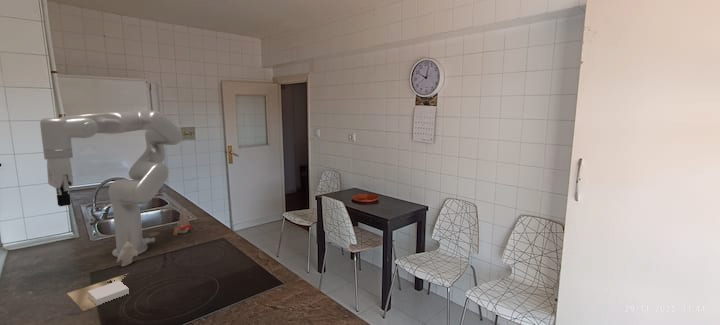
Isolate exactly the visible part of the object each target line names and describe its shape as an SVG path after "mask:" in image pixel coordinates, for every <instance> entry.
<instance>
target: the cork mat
mask: <svg viewBox="0 0 720 325" xmlns="http://www.w3.org/2000/svg"><path fill="white" fill-rule="evenodd" d="M127 274H128V273H125V274H121V275H119V276H116V277H113V278H110V279H108V280H104V281H101V282H97V283H94V284H91V285H88V286H86V287H83V288H79V289H76V290H73V291H70V292H67V293H66V295H68V296H69V297H70V298H71V299H72V301H73V302H75V304H76V305H77V307H79V308H80V309H81V310H82V311H83V312H84V311H87V310H90V309H93V308H96V307H99V306H101V305H102V304H100V305H96V304H95V303H94V302H93V301H92V300H91V299H90V298H89V297H88V291H90V290H93V289H95V288H98V287H101V286H104V285H107V284H110V283H107V282H109V281H110V280H111V281H112V283H113V282H116V281H122V279H124V277H126V276H124V275H127ZM114 280H115V281H114ZM122 283H123V282H122Z"/></svg>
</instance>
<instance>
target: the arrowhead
mask: <svg viewBox="0 0 720 325" xmlns="http://www.w3.org/2000/svg"><path fill="white" fill-rule="evenodd" d="M138 255H139V254H138V253H137V251H136V249H135V248H134V246H133V245H132V244H131V243H130V242H127V243H126V244H125V245H124V247H123V248H122V249H121V251H120V254H119V256H118V257H116V258H117V259H116V263H119V262H120V261H121V267H125V266H128V265H131V264H132V263H133V258H134V257H138Z"/></svg>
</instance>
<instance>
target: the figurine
mask: <svg viewBox="0 0 720 325" xmlns="http://www.w3.org/2000/svg"><path fill="white" fill-rule="evenodd" d="M176 224H177V225H176V226H175V227H174V230H173V236H178V234H186V233H188V231H189V229H191V228H192V225H191V224H190V220H189V216H188V212H187V210H186V209H182V210H181V212H179V220H178V221H177V223H176Z"/></svg>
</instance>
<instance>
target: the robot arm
mask: <svg viewBox="0 0 720 325" xmlns="http://www.w3.org/2000/svg"><path fill="white" fill-rule="evenodd" d="M39 126H40V134H41V135H40V136H41V142H42V149H43V157H44V158H43V159H44V160H46V168H47V169H46V171H47V183H48V185H49V186H51V187H53V188H55V191H56V192H55V193H56V199H57V206H58V207H67V206H70V205H71V203H72V202H71V195H70V187H72V186H73V185H74V176H73V171H72V164H71V160H70V159H72V158H74V156H73V154H74V153H73V146H72V138H75V139H76V138H77V139H78V138H79V139H89V138H91V137H94V136H95V135H96V134H105V135H106V134H110V135H111V134H123V133H131V132H137V131H145V132H144V138H145V142H146V145H145V146H146V147H145V150H144V152H143V153H142V154H141V155H140V157H139V158H138V159H137V160H136V161H135V162H134V163H133V164H132V166H131V167H130V168H129V171H128V177H129V178H130V179H126V178H123V179H117V180H115V181H113V182H111V184H110V185H109V187H108V197H109V200H110V203H111V207H112V212H113V213H112V214H113V223H114V225H113V226H114V235H115V246H116V248H114V249H113V250H112V256H114V257H115V258H118V256H119V254H120V251H121V249H122V248H123V247H124V245H125V244H126V243H127V242H130V243H131V244H132V245H133V246H134V248H135V249H136V251H137V253H138V255H141V254H143V253H145V252H146V251H147V250H148V244H152V243H154V242H155V241H156V238H155V237H151V238H150V237H146V238H143V228H142V226H143V224H142V215H141V212H142V211H141V209H140V208H141V207H140V205H144V204H147V203H149V202H150V201H151V200H152V199H153V198H154V197H155V196H156V194H157V193H158V192H159V190H160V189H161V188H162V187H163V185H164V184H165V183H166V181H167V180H168V176H169V169H168V166H167V165H166V164H165V163H164V161H165V158H166V152H165V148H164V147H165V146H164V145H166V146H175V145H178V144H180V143H181V141H182V140H183V134H182V130H181V129H180V128H179V127H178V126H177V125H176V124H175V123H174V122H173V121H172V120H170V119H169V118H168V117H167V116H165V115H164V114H163V113H161V112H159V111H158V110H145V109H139V110H138V109H136V110H135V109H134V110H126V111H115V112H114V111H113V112H112V111H111V112H102V113H101V112H100V113H90V114H88V113H87V114H76V115H66V116H61V117H46V118H42V119H41V120H40V122H39Z"/></svg>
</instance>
